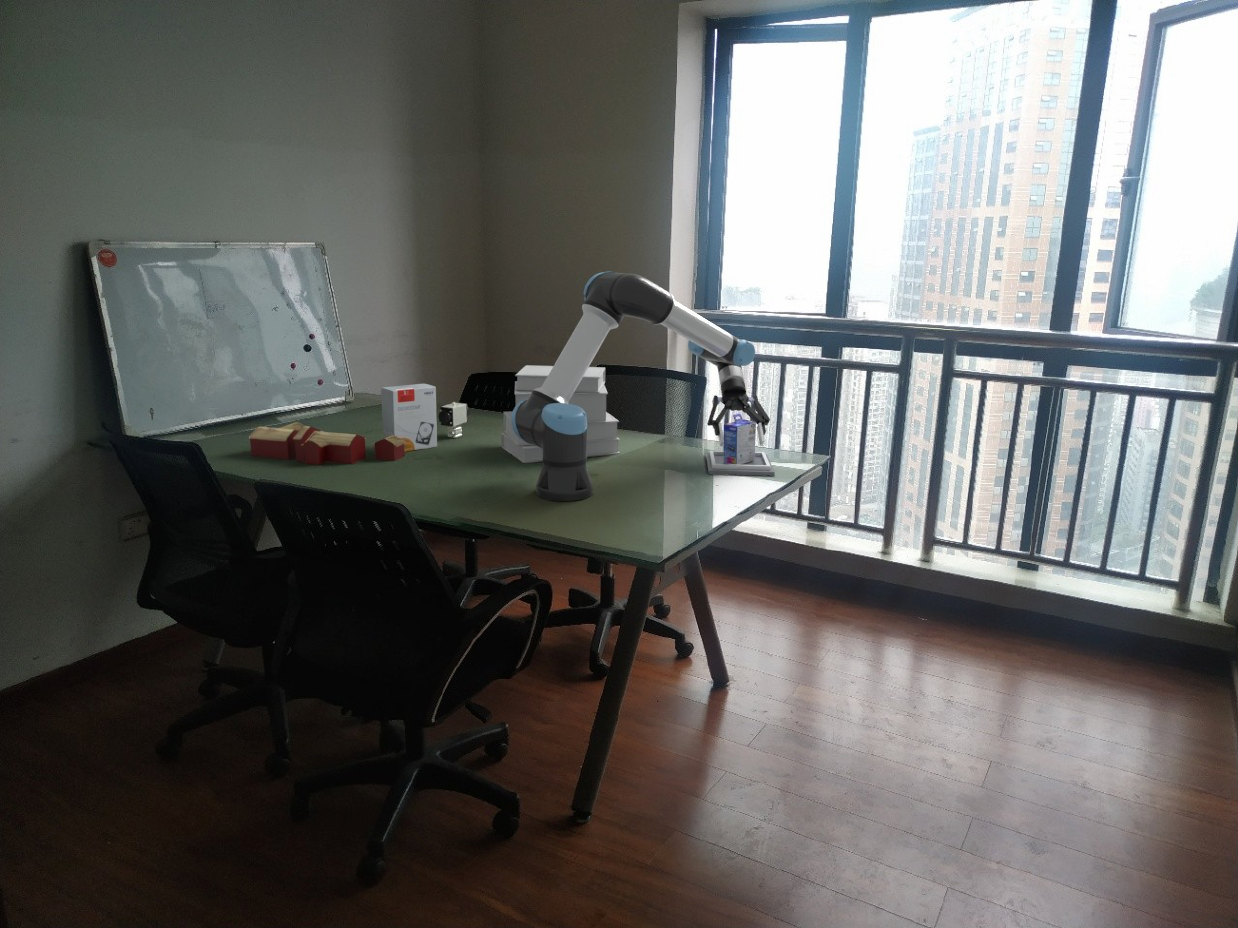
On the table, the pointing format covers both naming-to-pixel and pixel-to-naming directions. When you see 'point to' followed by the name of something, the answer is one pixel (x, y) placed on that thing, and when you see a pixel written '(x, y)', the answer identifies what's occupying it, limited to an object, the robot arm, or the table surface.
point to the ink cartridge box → (739, 441)
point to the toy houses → (319, 445)
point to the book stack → (585, 396)
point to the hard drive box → (410, 415)
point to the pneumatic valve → (454, 417)
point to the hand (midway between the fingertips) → (742, 443)
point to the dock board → (750, 468)
